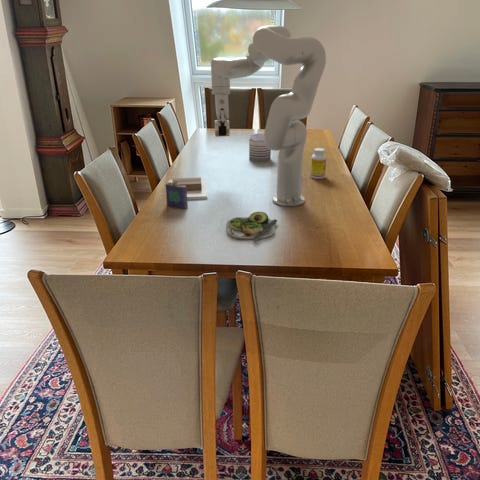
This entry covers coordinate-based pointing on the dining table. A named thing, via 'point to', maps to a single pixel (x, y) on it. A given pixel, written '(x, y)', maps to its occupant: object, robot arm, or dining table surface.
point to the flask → (176, 195)
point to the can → (258, 149)
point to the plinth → (190, 183)
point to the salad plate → (252, 226)
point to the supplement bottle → (318, 164)
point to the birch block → (218, 128)
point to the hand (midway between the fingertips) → (222, 133)
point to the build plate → (197, 192)
